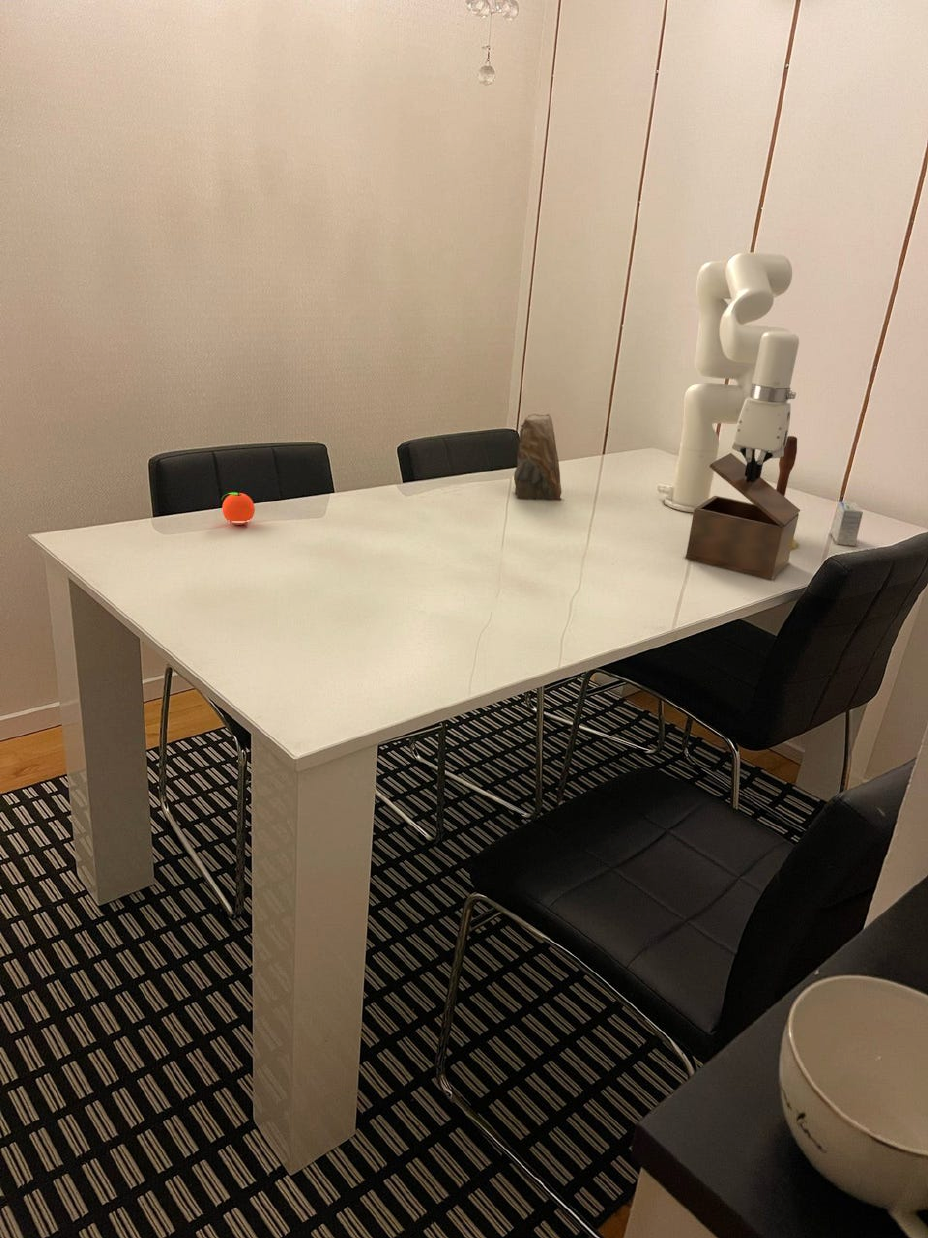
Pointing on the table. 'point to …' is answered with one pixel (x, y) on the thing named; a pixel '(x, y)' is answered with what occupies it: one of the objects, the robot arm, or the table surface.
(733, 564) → the chest
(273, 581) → the table surface
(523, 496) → the brown rock
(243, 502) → the clementine
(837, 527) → the medicine box
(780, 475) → the handbell
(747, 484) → the lid
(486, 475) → the table surface
